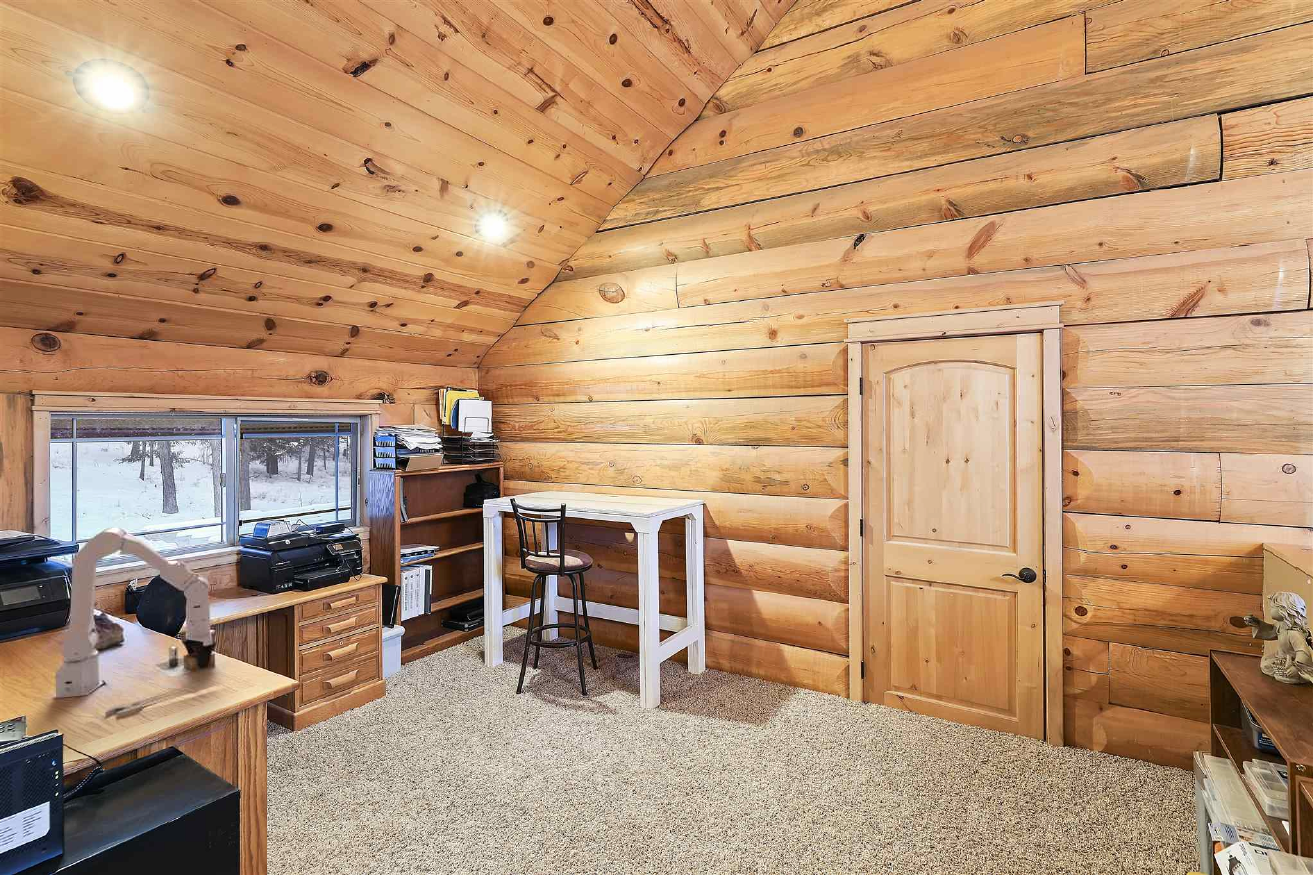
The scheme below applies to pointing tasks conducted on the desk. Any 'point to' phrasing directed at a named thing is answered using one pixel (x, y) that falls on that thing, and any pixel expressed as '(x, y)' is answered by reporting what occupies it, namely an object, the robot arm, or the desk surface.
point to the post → (172, 659)
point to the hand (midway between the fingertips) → (199, 664)
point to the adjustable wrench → (131, 709)
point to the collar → (192, 663)
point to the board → (176, 670)
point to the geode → (107, 632)
